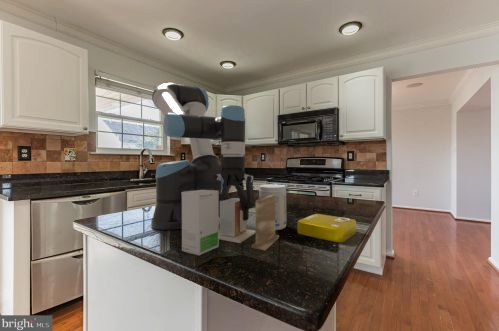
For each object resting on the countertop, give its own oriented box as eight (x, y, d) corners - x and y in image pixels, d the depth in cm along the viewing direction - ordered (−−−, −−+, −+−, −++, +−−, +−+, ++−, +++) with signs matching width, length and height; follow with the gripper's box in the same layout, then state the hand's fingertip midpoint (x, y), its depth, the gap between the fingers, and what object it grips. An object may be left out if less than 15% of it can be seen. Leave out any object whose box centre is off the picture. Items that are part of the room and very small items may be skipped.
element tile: (315, 224, 90) (315, 211, 90) (357, 232, 80) (357, 218, 80) (295, 234, 78) (295, 219, 78) (341, 245, 69) (341, 228, 69)
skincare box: (198, 256, 59) (198, 193, 59) (179, 251, 63) (179, 191, 62) (220, 246, 66) (219, 190, 66) (202, 242, 70) (202, 188, 70)
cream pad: (208, 237, 74) (208, 235, 74) (227, 228, 84) (227, 226, 84) (240, 243, 69) (240, 241, 69) (256, 232, 79) (256, 230, 79)
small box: (234, 237, 72) (234, 202, 71) (219, 234, 74) (219, 200, 74) (247, 230, 79) (247, 198, 79) (232, 228, 81) (232, 197, 81)
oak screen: (251, 247, 65) (251, 200, 65) (266, 236, 75) (266, 194, 75) (265, 250, 63) (265, 201, 63) (279, 238, 73) (279, 195, 73)
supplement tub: (273, 222, 92) (273, 183, 92) (292, 227, 85) (292, 185, 84) (253, 226, 86) (253, 185, 85) (272, 232, 79) (272, 187, 78)
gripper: (200, 156, 77) (201, 228, 77) (256, 155, 68) (256, 236, 69) (214, 156, 83) (214, 222, 84) (266, 156, 75) (266, 229, 75)
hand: (233, 228), depth 76 cm, fingers open, 6 cm apart
